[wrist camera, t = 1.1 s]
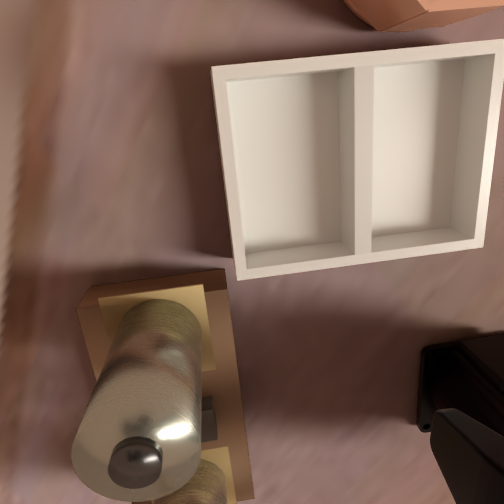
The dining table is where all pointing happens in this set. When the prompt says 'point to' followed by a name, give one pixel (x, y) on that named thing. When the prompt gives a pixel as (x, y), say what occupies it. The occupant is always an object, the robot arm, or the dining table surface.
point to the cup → (417, 12)
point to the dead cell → (144, 407)
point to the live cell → (200, 487)
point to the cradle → (213, 360)
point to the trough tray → (357, 155)
